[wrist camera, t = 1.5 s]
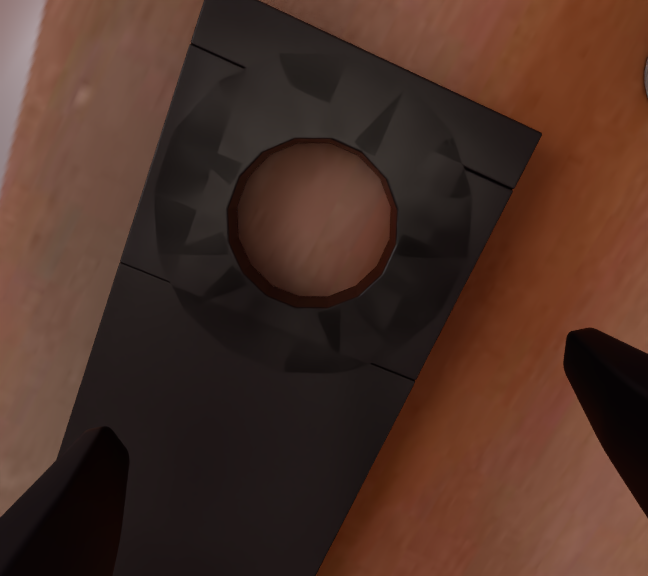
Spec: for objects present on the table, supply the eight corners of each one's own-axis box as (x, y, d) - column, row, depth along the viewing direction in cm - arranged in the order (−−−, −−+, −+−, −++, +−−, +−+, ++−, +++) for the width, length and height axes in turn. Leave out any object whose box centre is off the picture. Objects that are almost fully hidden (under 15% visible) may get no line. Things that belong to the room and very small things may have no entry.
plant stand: (237, 703, 28) (230, 742, 26) (14, 631, 26) (-11, 666, 24) (522, 137, 20) (543, 133, 18) (222, -2, 18) (210, -23, 16)
